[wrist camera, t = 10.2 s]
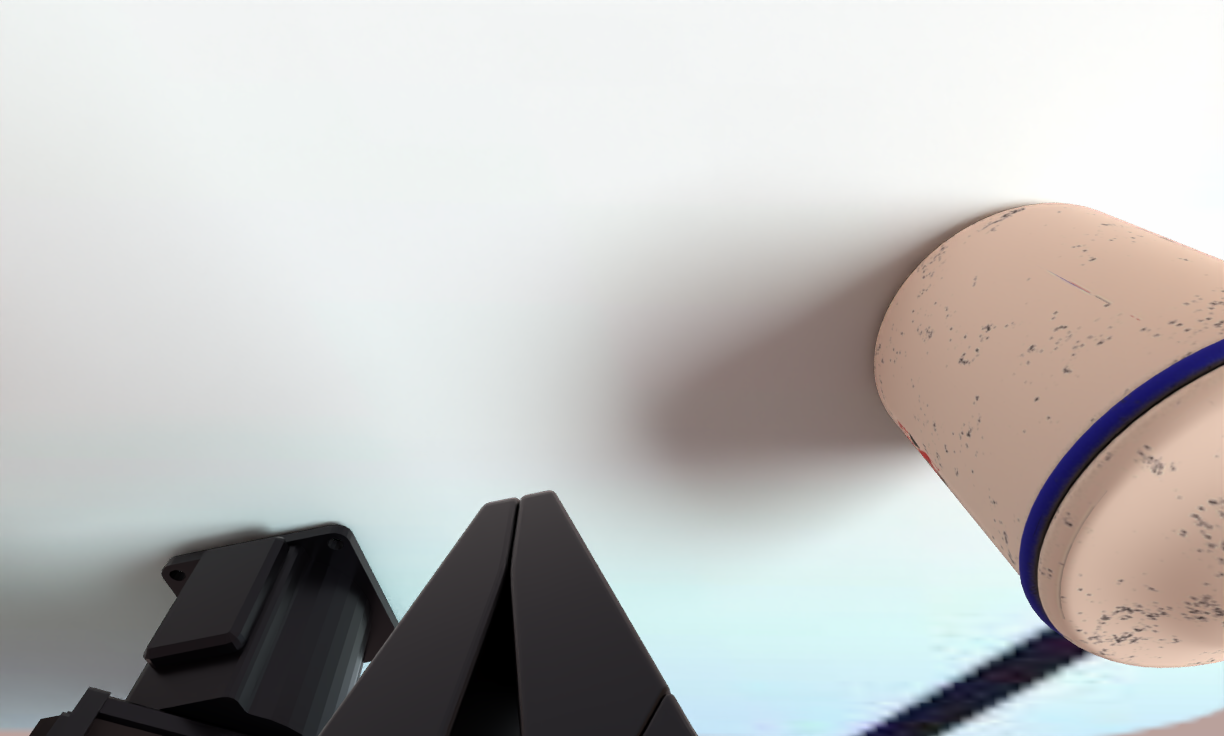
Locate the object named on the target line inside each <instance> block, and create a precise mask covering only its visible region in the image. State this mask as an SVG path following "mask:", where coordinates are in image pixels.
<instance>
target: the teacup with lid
mask: <svg viewBox="0 0 1224 736" xmlns="http://www.w3.org/2000/svg"><path fill="white" fill-rule="evenodd" d="M874 374H875V381H876V386H877V390H878V393H879V396H880V398H881V401H882V403H883V405H884V407H885V408H886V410H887V412H888V414H889V415H890V416H891V418H892V419H893V420H894V421H895V423H896V424H897V425H898V426H899V428H900V429H901V430H902V431H903V433H904V434H905V435H906V436H907V437H908V439H909V440H910V441H911V442H912V444H913V445H914V446H915V447H916V449H917V450H918V451H919V452H920V453H921V455H922V456H923V457H924V458H925V460H926V461H927V462H928V463H929V465H930V466H931V467H932V468H933V469H934V471H935V472H936V473H937V474H938V476H939V477H940V478H941V479H942V481H943V482H944V483H945V484H946V486H947V487H948V488H949V489H950V490H951V492H952V493H953V494H954V495H955V497H956V498H957V499H958V500H959V502H960V503H961V504H962V505H963V506H964V508H965V509H966V510H967V511H968V513H969V514H970V515H971V516H972V518H973V519H974V520H975V521H976V522H977V524H978V525H979V526H980V527H981V529H982V530H983V531H984V532H985V534H986V535H987V536H988V537H989V539H990V540H991V541H992V542H993V543H994V545H995V546H996V547H997V548H998V550H999V551H1000V552H1001V553H1002V555H1003V556H1004V557H1005V558H1006V559H1007V561H1008V562H1009V563H1010V564H1011V566H1012V567H1013V568H1014V569H1015V571H1016V572H1017V573H1018V574H1019V575H1020V579H1021V584H1022V587H1023V590H1024V593H1025V596H1026V598H1027V599H1028V601H1029V603H1030V605H1031V607H1032V608H1033V610H1034V611H1035V612H1036V613H1037V615H1038V616H1039V617H1040V619H1041V620H1043V621H1044V622H1045V623H1046V624H1047V625H1048V626H1049V627H1050V628H1051V629H1053V630H1054V631H1056V632H1057V633H1059V634H1060V635H1062V636H1063V637H1065V638H1067V639H1068V640H1069V641H1071V642H1072V643H1074V644H1075V645H1077V646H1078V647H1080V648H1082V649H1084V650H1086V651H1088V652H1091V653H1093V654H1095V655H1097V656H1100V657H1103V658H1105V659H1108V660H1111V661H1115V662H1119V663H1123V664H1128V665H1134V666H1141V667H1155V668H1169V667H1187V666H1197V665H1204V664H1210V663H1216V662H1220V661H1224V261H1223V260H1221V259H1218V258H1216V257H1213V256H1211V255H1208V254H1206V253H1203V252H1201V251H1198V250H1196V249H1193V248H1191V247H1188V246H1186V245H1183V244H1181V243H1178V242H1176V241H1173V240H1171V239H1168V238H1166V237H1163V236H1160V235H1158V234H1155V233H1153V232H1150V231H1148V230H1145V229H1143V228H1140V227H1138V226H1135V225H1133V224H1130V223H1128V222H1125V221H1123V220H1120V219H1118V218H1115V217H1113V216H1110V215H1108V214H1105V213H1103V212H1100V211H1098V210H1094V209H1091V208H1088V207H1084V206H1079V205H1074V204H1066V203H1041V204H1034V205H1027V206H1022V207H1018V208H1013V209H1009V210H1006V211H1003V212H1000V213H997V214H994V215H992V216H990V217H987V218H985V219H982V220H980V221H978V222H976V223H974V224H972V225H971V226H969V227H967V228H965V229H964V230H962V231H960V232H959V233H957V234H955V235H954V236H952V237H951V238H950V239H948V240H947V241H946V242H944V243H943V244H941V245H940V246H939V247H938V248H937V249H935V250H934V251H933V252H932V253H931V254H930V255H929V256H928V257H927V258H925V259H924V260H923V261H922V262H921V263H920V264H919V265H918V267H917V268H916V269H915V270H914V271H913V272H912V273H911V275H910V276H909V277H908V278H907V280H906V281H905V282H904V284H903V285H902V286H901V288H900V289H899V291H898V292H897V294H896V295H895V297H894V299H893V300H892V302H891V304H890V306H889V308H888V310H887V312H886V314H885V316H884V319H883V321H882V324H881V327H880V330H879V333H878V337H877V342H876V346H875V355H874Z"/></svg>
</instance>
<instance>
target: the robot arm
mask: <svg viewBox="0 0 1224 736" xmlns="http://www.w3.org/2000/svg"><path fill="white" fill-rule="evenodd" d="M332 538H337V539H339V540H341V541H336V540H333V539H332ZM181 571H182V572H181ZM162 576H163V579H164V580H165V581H166V583H167V584H168V585H169V587H170V588H171V589H172V591H173V592H174V593H175V595H176V596H177V598H176V600H175V602H174V603H173V605H172V607H171V608H170V610H169V612H168V613H167V615H166V617H165V618H164V620H163V621H162V623H161V625H160V626H159V628H158V630H157V631H156V633H155V635H154V636H153V638H152V640H151V641H150V643H149V645H148V646H147V648H146V650H145V652H144V655H143V657H144V659H145V660H146V661H147V662H148V663H147V664H146V666H145V668H144V669H143V671H142V673H141V674H140V676H139V678H138V680H137V681H136V683H135V685H134V686H133V688H132V690H131V691H130V693H129V695H128V696H127V698H126V700H122V699H118V698H114V697H111V696H110V694H111V692H107V691H104V690H100V689H96V688H93V687H89V688H88V690H87V691H86V693H85V694H84V695H83V697H82V698H81V700H80V701H79V703H78V704H77V705H76V707H75V708H74V710H73V711H72V712H69V711H68V712H67V713H65V712H63V713H62V714H61V715H59V716H54V717H49V718H44V719H40V721H39V722H38V724H37V725H36V727H35V728H34V730H33V731H32V732H31V734H30V735H29V736H698V735H697V734H696V732H695V730H694V729H693V727H692V726H691V724H690V722H689V721H688V719H687V717H686V715H685V714H684V712H683V710H682V709H681V707H680V705H679V703H678V702H677V700H676V698H675V697H674V695H672V694H671V693H670V689H669V687H668V685H667V684H666V682H665V680H664V678H663V677H662V675H661V673H660V671H659V670H658V668H657V666H656V665H655V663H654V661H653V659H652V658H651V656H650V654H649V653H648V651H647V649H646V647H645V646H644V644H643V642H642V641H641V639H640V637H639V635H638V634H637V632H636V630H635V629H634V627H633V625H632V623H631V622H630V620H629V618H628V617H627V615H626V613H625V611H624V610H623V608H622V606H621V604H620V603H619V601H618V599H617V598H616V596H615V594H614V592H613V591H612V589H611V587H610V586H609V584H608V582H607V580H606V579H605V577H604V575H603V574H602V572H601V570H600V568H599V567H598V565H597V563H596V562H595V560H594V558H593V556H592V555H591V553H590V551H589V550H588V548H587V546H586V544H585V543H584V541H583V539H582V538H581V536H580V534H579V532H578V531H577V529H576V527H575V525H574V524H573V522H572V520H571V519H570V517H569V515H568V513H567V512H566V510H565V508H564V507H563V505H562V503H561V501H560V500H559V498H558V496H557V495H556V493H555V492H554V491H551V490H548V491H543V492H538V493H533V494H528V495H525V496H523V497H522V498H521V499H520V500H519V499H517V498H508V499H503V500H498V501H493V502H489V503H486V504H485V505H484V506H483V507H482V508H481V509H480V511H479V512H478V514H477V515H476V516H475V518H474V519H473V521H472V522H471V523H470V525H469V526H468V527H467V529H466V530H465V532H464V533H463V534H462V536H461V537H460V539H459V540H458V541H457V543H456V544H455V546H454V547H453V548H452V550H451V551H450V553H449V554H448V555H447V557H446V558H445V560H444V561H443V562H442V564H441V565H440V567H439V568H438V569H437V571H436V572H435V573H434V575H433V576H432V578H431V579H430V580H429V582H428V583H427V585H426V586H425V587H424V589H423V590H422V592H421V593H420V594H419V596H418V597H417V599H416V600H415V601H414V603H413V604H412V606H411V607H410V608H409V610H408V611H407V613H406V614H405V615H404V617H403V618H402V620H401V621H400V622H399V623H398V621H397V619H396V617H395V615H394V613H393V611H392V609H391V607H390V605H389V603H388V601H387V599H386V597H385V595H384V593H383V591H382V589H381V587H380V585H379V583H378V581H377V580H376V578H375V576H374V574H373V572H372V570H371V568H370V566H369V564H368V562H367V560H366V558H365V556H364V554H363V552H362V550H361V548H360V546H359V544H358V542H357V540H356V538H355V536H354V534H353V533H352V531H351V530H350V529H349V528H347V527H345V526H342V525H330V526H325V527H320V528H315V529H310V530H305V531H300V532H295V533H290V534H285V535H280V536H275V537H270V538H265V539H260V540H255V541H250V542H245V543H240V544H235V545H230V546H225V547H220V548H215V549H210V550H205V551H200V552H195V553H190V554H185V555H180V556H175V557H173V558H171V559H170V560H169V561H168V562H167V564H166V565H165V567H164V568H163V570H162ZM370 661H371V663H370V664H369V666H368V667H367V668H366V670H365V671H364V672H363V674H362V675H361V677H360V674H361V671H362V667H363V663H365V662H370Z"/></svg>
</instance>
